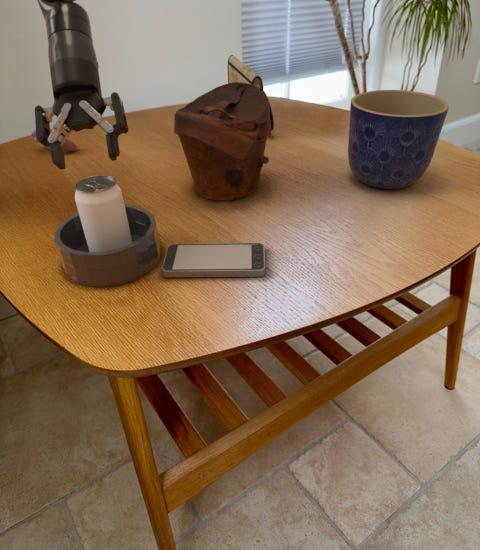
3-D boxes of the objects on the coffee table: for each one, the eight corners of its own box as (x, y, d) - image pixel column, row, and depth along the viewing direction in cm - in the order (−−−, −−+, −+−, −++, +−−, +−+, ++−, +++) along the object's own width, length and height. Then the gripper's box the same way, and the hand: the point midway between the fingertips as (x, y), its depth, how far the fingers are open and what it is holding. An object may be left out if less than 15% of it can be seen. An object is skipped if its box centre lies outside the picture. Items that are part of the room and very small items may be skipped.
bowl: (50, 288, 62) (38, 256, 58) (80, 234, 73) (72, 205, 70) (152, 285, 62) (146, 253, 58) (166, 232, 73) (162, 203, 70)
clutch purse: (280, 140, 107) (282, 75, 98) (253, 143, 106) (253, 77, 97) (249, 107, 131) (249, 52, 122) (227, 109, 129) (225, 53, 120)
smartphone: (265, 270, 62) (161, 271, 62) (265, 276, 62) (162, 277, 63) (264, 242, 68) (168, 243, 68) (263, 248, 68) (169, 249, 69)
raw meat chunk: (42, 153, 108) (23, 132, 102) (54, 140, 110) (36, 118, 104) (68, 161, 104) (49, 139, 98) (79, 147, 105) (61, 125, 99)
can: (107, 272, 64) (87, 198, 56) (83, 256, 67) (62, 184, 60) (142, 253, 67) (128, 181, 60) (118, 239, 71) (102, 169, 64)
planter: (356, 158, 97) (366, 85, 88) (436, 172, 90) (456, 95, 81) (329, 187, 85) (337, 108, 76) (418, 206, 78) (439, 121, 69)
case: (183, 216, 78) (172, 114, 67) (178, 171, 93) (168, 83, 83) (281, 206, 80) (284, 106, 69) (260, 164, 95) (260, 77, 85)
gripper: (19, 63, 68) (31, 162, 66) (109, 47, 67) (123, 146, 66) (43, 89, 75) (54, 178, 73) (123, 74, 75) (136, 164, 73)
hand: (87, 163), depth 70 cm, fingers open, 8 cm apart
